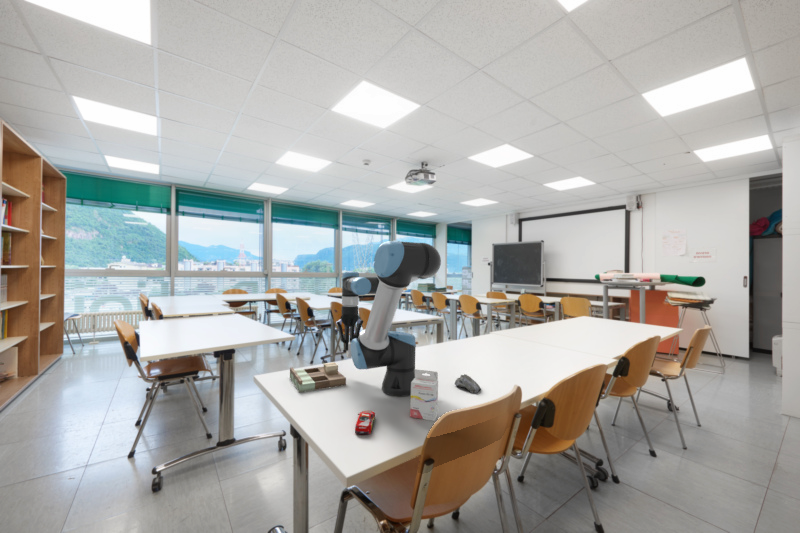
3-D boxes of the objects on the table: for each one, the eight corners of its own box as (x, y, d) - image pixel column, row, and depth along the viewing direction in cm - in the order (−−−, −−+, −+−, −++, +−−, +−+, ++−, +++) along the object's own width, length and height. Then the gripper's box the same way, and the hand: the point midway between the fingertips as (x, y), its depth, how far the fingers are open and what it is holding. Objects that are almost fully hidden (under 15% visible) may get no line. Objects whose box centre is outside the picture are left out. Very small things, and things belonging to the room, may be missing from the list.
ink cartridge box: (409, 417, 108) (410, 372, 108) (413, 411, 113) (413, 368, 113) (435, 421, 105) (435, 375, 106) (438, 415, 110) (438, 371, 110)
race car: (360, 416, 109) (360, 404, 109) (376, 417, 109) (376, 405, 109) (352, 436, 96) (352, 422, 96) (370, 437, 95) (371, 423, 96)
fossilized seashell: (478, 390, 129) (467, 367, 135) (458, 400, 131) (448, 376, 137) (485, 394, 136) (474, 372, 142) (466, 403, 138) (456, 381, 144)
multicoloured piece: (345, 385, 138) (345, 374, 138) (299, 392, 129) (299, 380, 129) (331, 371, 155) (331, 362, 155) (289, 377, 146) (290, 367, 146)
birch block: (337, 373, 144) (338, 365, 144) (326, 374, 141) (326, 366, 141) (334, 370, 148) (334, 362, 148) (323, 371, 146) (323, 363, 146)
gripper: (360, 304, 156) (359, 353, 156) (333, 305, 150) (332, 356, 150) (366, 305, 149) (365, 357, 149) (338, 307, 143) (337, 361, 143)
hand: (348, 357), depth 149 cm, fingers closed
